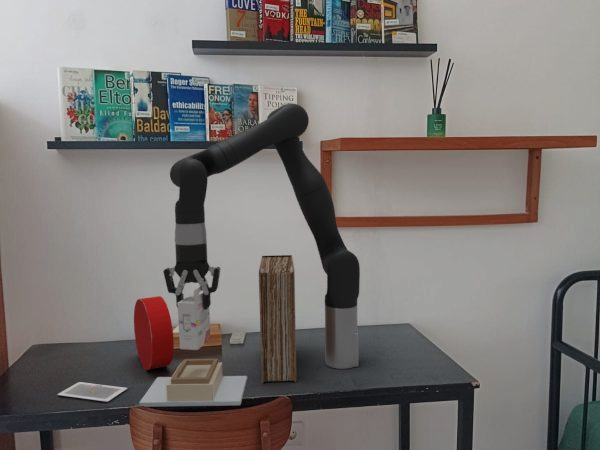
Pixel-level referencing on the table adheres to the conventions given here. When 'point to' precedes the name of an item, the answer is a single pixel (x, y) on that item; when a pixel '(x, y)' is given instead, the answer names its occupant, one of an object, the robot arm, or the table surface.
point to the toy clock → (153, 332)
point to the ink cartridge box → (193, 321)
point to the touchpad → (92, 391)
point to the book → (277, 318)
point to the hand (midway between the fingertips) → (193, 308)
